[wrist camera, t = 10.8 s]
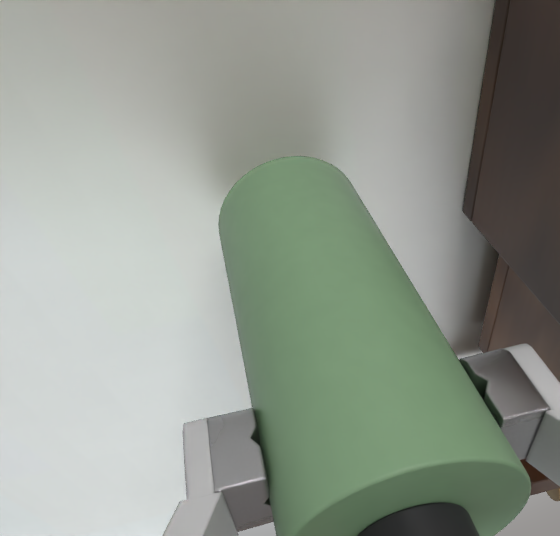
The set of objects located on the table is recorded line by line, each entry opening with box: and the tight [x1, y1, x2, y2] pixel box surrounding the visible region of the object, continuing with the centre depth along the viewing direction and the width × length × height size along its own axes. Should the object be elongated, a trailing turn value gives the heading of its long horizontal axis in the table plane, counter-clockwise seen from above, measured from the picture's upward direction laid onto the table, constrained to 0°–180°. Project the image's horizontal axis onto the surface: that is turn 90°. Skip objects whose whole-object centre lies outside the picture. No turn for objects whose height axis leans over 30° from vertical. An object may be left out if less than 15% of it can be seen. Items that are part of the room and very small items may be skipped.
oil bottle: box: [219, 156, 531, 536], centre depth 12 cm, size 5×5×11 cm
